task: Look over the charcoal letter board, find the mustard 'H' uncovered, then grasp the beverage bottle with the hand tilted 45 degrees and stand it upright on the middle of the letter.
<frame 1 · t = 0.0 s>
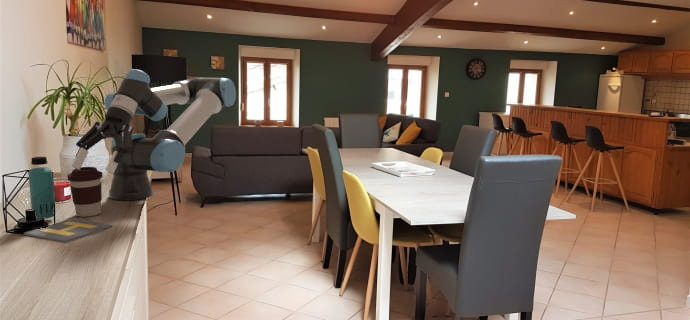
hand: (91, 170, 153), 16 cm above the sideboard, tool tilted 35°, fingers open, 13 cm apart
beverage bottle: (44, 221, 154), on the sideboard
letter board: (69, 230, 145), on the sideboard
coffee cup: (88, 214, 162), on the sideboard, touching gripper
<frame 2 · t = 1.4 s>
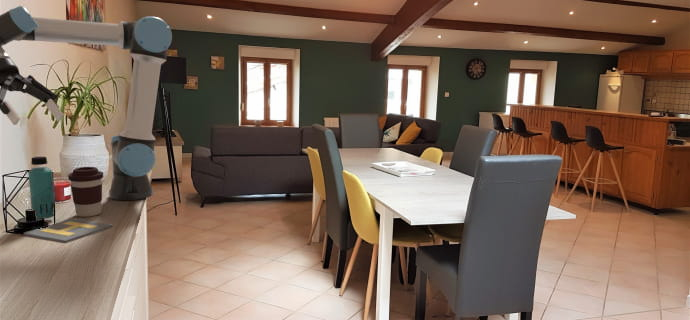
hand: (40, 119, 143), 32 cm above the sideboard, tool tilted 45°, fingers open, 13 cm apart
coffee cup: (88, 214, 162), on the sideboard
everything else where it was.
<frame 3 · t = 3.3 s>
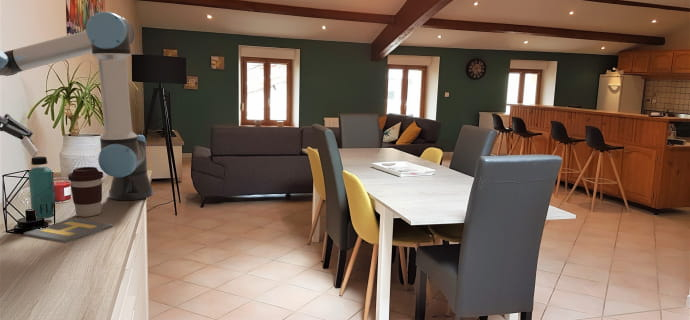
hand: (14, 157, 154), 19 cm above the sideboard, tool tilted 45°, fingers open, 13 cm apart
nothing on the sideboard moved.
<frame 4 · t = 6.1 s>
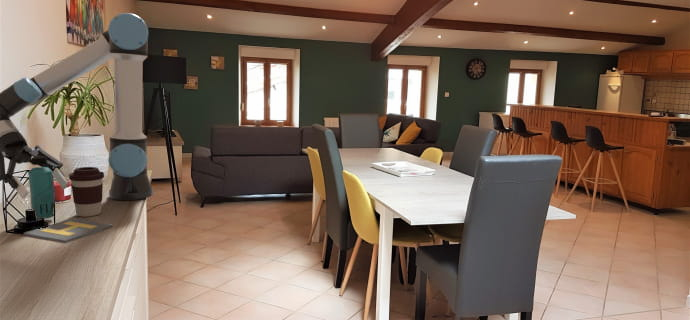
hand: (46, 190, 152), 10 cm above the sideboard, tool tilted 45°, fingers open, 13 cm apart
coffee cup: (88, 214, 162), on the sideboard, touching gripper
everything else where it was.
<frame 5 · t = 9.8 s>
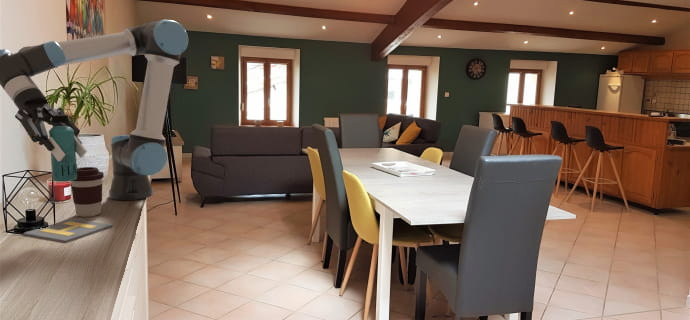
hand: (72, 156, 140), 22 cm above the sideboard, tool tilted 45°, fingers closed on beverage bottle, 6 cm apart
beverage bottle: (65, 185, 143), point 14 cm above the sideboard, touching gripper
coffee cup: (88, 214, 162), on the sideboard
when the fingers open (10 cm above the sideboard, at t = 12.8 s): beverage bottle stays where it is, resting on letter board.
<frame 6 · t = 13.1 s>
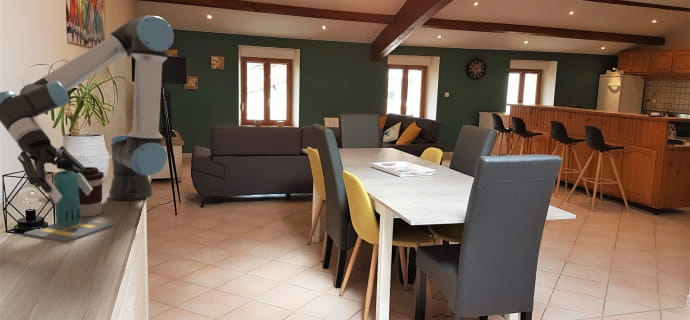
hand: (74, 195, 142), 11 cm above the sideboard, tool tilted 45°, fingers open, 9 cm apart
beverage bottle: (69, 228, 145), point 1 cm above the sideboard, touching letter board
everything else where it was.
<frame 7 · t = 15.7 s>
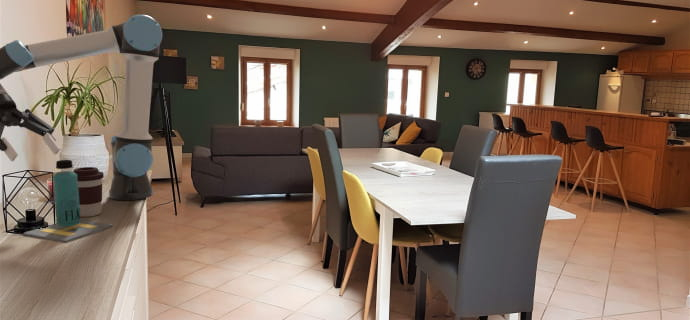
hand: (37, 154, 146), 22 cm above the sideboard, tool tilted 45°, fingers open, 13 cm apart
nothing on the sideboard moved.
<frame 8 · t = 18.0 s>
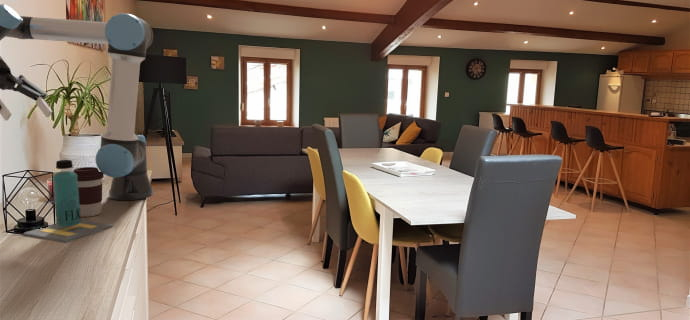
hand: (30, 116, 155), 32 cm above the sideboard, tool tilted 45°, fingers open, 13 cm apart
nothing on the sideboard moved.
at the end: beverage bottle 0.1 cm off-centre on the letter board, point 0.5 cm above the letter board's base; beverage bottle tilted 0°; the gripper is holding nothing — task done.
